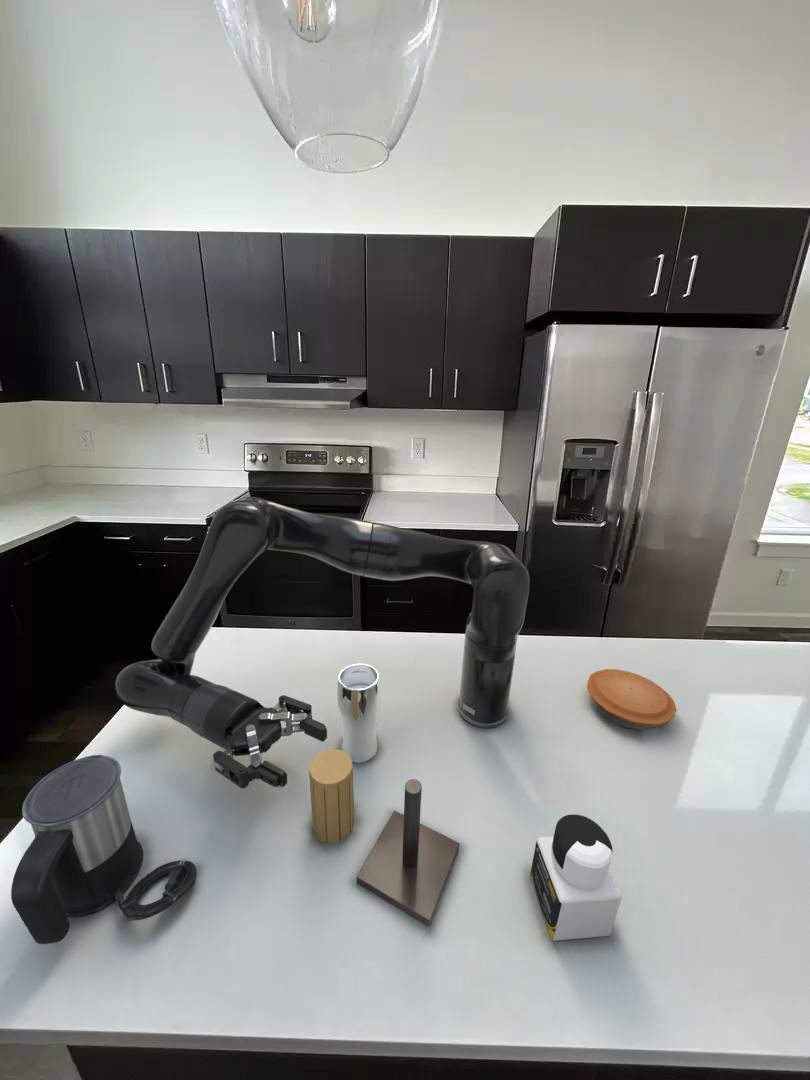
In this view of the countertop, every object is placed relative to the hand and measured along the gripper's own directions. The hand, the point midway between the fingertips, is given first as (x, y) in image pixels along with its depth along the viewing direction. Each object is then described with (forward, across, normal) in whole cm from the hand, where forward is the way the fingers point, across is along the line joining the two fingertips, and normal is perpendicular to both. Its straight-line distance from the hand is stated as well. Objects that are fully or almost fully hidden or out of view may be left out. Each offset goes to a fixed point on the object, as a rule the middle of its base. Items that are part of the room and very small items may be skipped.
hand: (306, 756), depth 58 cm
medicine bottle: (+35, +5, +11) cm, 37 cm away
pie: (+41, +46, +11) cm, 63 cm away
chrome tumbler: (0, +13, +11) cm, 17 cm away
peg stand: (+16, 0, +10) cm, 19 cm away
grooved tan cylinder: (+4, 0, +11) cm, 11 cm away
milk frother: (-14, -18, +11) cm, 25 cm away
